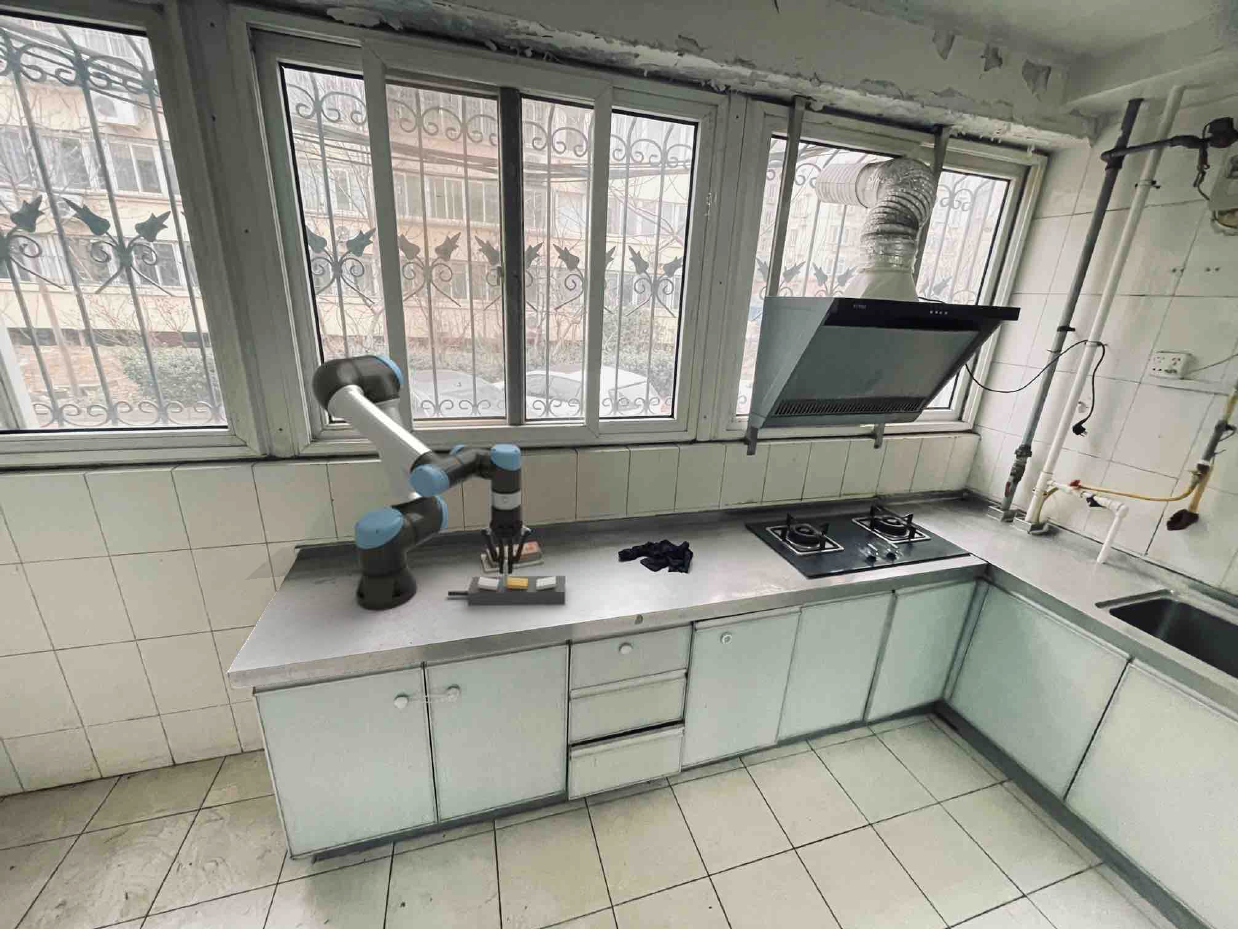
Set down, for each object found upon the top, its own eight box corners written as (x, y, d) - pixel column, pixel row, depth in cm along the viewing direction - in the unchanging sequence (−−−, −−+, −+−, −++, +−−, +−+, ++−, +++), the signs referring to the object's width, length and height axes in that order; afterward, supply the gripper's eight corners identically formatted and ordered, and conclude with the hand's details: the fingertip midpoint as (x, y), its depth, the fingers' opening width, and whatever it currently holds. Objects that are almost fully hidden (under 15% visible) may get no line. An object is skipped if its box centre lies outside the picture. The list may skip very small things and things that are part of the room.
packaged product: (535, 537, 162) (543, 551, 153) (535, 550, 163) (543, 565, 155) (479, 545, 155) (484, 560, 146) (480, 558, 156) (485, 575, 148)
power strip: (445, 606, 132) (444, 592, 130) (452, 589, 139) (451, 576, 138) (564, 604, 135) (564, 591, 134) (565, 587, 143) (565, 575, 141)
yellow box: (507, 587, 132) (507, 584, 132) (508, 580, 136) (509, 577, 136) (526, 589, 133) (526, 585, 133) (527, 581, 136) (527, 578, 136)
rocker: (536, 589, 133) (536, 586, 133) (537, 582, 137) (537, 579, 137) (555, 586, 134) (555, 583, 133) (556, 579, 137) (555, 576, 137)
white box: (477, 587, 132) (477, 584, 131) (479, 579, 135) (480, 576, 135) (496, 590, 132) (497, 587, 132) (498, 582, 136) (499, 579, 135)
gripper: (478, 509, 122) (480, 590, 130) (529, 511, 123) (528, 591, 131) (483, 497, 129) (484, 575, 137) (532, 499, 131) (530, 576, 138)
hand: (506, 583), depth 134 cm, fingers closed
